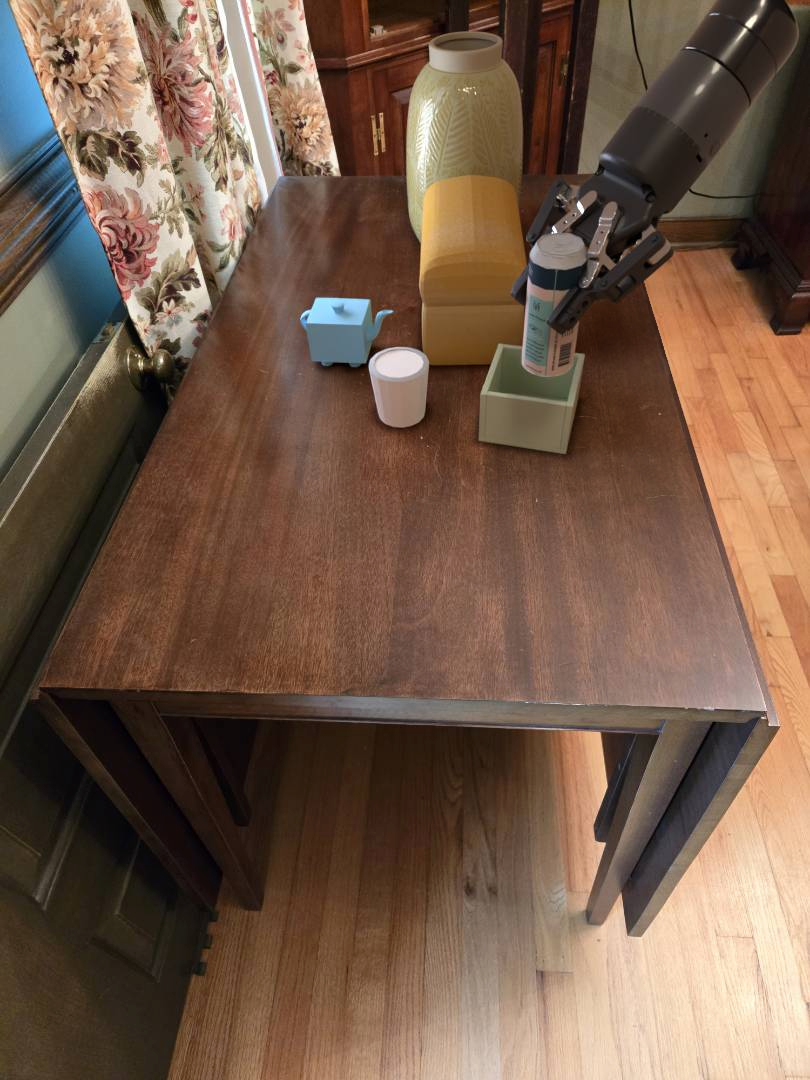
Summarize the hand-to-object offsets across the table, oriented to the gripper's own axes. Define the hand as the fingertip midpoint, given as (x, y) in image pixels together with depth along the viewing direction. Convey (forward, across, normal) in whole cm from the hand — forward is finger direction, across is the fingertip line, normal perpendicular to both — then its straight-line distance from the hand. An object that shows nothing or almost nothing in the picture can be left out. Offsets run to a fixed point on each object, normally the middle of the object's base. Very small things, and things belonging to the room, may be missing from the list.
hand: (536, 314), depth 63 cm
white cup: (+18, -17, +10) cm, 27 cm away
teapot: (+18, -31, +10) cm, 37 cm away
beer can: (+3, 0, +6) cm, 7 cm away
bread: (+5, -31, +23) cm, 39 cm away
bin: (+9, -8, +19) cm, 22 cm away
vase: (-2, -50, +31) cm, 59 cm away
